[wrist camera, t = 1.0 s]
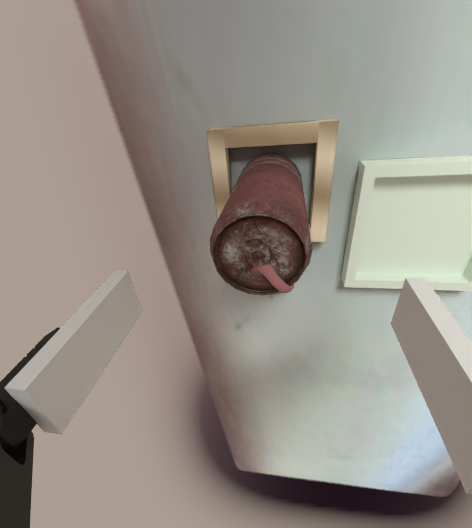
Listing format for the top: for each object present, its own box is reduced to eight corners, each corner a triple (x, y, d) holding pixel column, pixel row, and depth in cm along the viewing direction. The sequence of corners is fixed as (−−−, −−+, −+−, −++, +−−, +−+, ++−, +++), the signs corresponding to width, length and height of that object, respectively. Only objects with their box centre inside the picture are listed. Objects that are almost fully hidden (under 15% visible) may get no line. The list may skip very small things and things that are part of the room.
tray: (359, 160, 24) (365, 166, 23) (528, 152, 22) (547, 158, 20) (341, 276, 31) (344, 287, 30) (466, 279, 29) (477, 291, 27)
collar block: (210, 128, 25) (201, 133, 22) (335, 119, 23) (342, 123, 20) (228, 280, 34) (224, 296, 32) (318, 282, 32) (320, 300, 30)
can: (273, 225, 29) (265, 317, 18) (228, 187, 28) (186, 260, 16) (316, 183, 26) (340, 262, 15) (268, 137, 24) (252, 185, 13)
